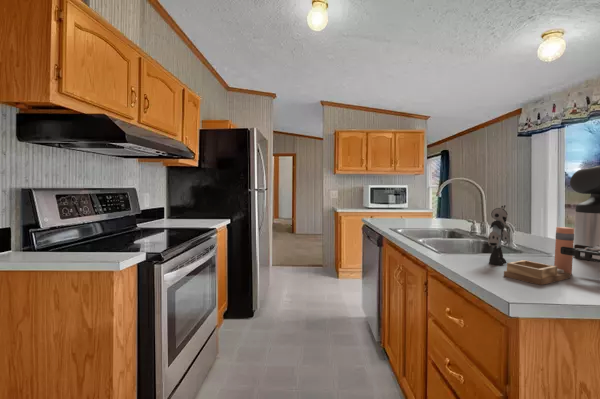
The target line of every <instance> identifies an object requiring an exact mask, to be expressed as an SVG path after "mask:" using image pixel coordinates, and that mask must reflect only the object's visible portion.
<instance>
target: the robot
mask: <svg viewBox="0 0 600 399" xmlns="http://www.w3.org/2000/svg"><path fill="white" fill-rule="evenodd" d="M505 209H506V205H501V207H496V208H494V209H493V210H491V214H490V216H491V218H492V219H494V221H492V222H491V224H490V227H489V229H492V231H491V232H490V233H489V234H488V238H487V243H488V247H489V248H493V249H492V251H491V253H490V255H489V259H488V260H489V261H488V264H489V265H493V266H499V267H500V266H504V264H507V263H508V262H507V260H506V259H505V258H504V254H503V250H502V242H508V241H509V239H510V235H509V233H508V231H507V230H506V229H505V227H506V226H505V225H507V218H508V211H506V210H505Z"/></svg>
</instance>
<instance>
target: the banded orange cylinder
mask: <svg viewBox="0 0 600 399" xmlns="http://www.w3.org/2000/svg"><path fill="white" fill-rule="evenodd" d="M574 228H575V227H567V226H566V227H565V226H556V228H555V229H556V230H555V250H554V261H553V262H554V265H553V266H557V269H561V270H564V272H568V273H570V276H571V275H572V273H573V258H574V257H573V256H571V255H565V254H561V253H560V251H561V247H570V248H573V245H574Z"/></svg>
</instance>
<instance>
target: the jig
mask: <svg viewBox="0 0 600 399" xmlns="http://www.w3.org/2000/svg"><path fill="white" fill-rule="evenodd" d="M503 277H506V278H509V279H514V280H518V281H523V282H527V283H531V284H534V285H538V286H543V285H547V284H551V283H556V282H560V281H563V280H566V279H571V275H570V273H568V272H564V270H561V269H557V266H554V265H552V264H546V263H542V262H536V261H533V260H532V261H530V260H527V259H523V260H517V261H511V262H507V263H506V270H504V271H503Z"/></svg>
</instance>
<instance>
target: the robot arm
mask: <svg viewBox="0 0 600 399" xmlns="http://www.w3.org/2000/svg"><path fill="white" fill-rule="evenodd" d="M569 180H570V181H569V186H570V188H571V189H572V190H573V191H574V192H576V193H578V194H583V195H590V196H589V198H588V199H587V200H584V201H583V202H579V203H577V204H576V205H575V213H574V227H573V228H574V243H573V248H570V247H561V251H560V253H561V254H565V255H571V256H573V258H574V259H577V260H585V261H590V262H595V263H600V165H597V166H593V167H592V166H591V167H587V168H580V169H578V170H577V171H575V172H574V173H573V174H572V176H571V177H570V179H569Z"/></svg>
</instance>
